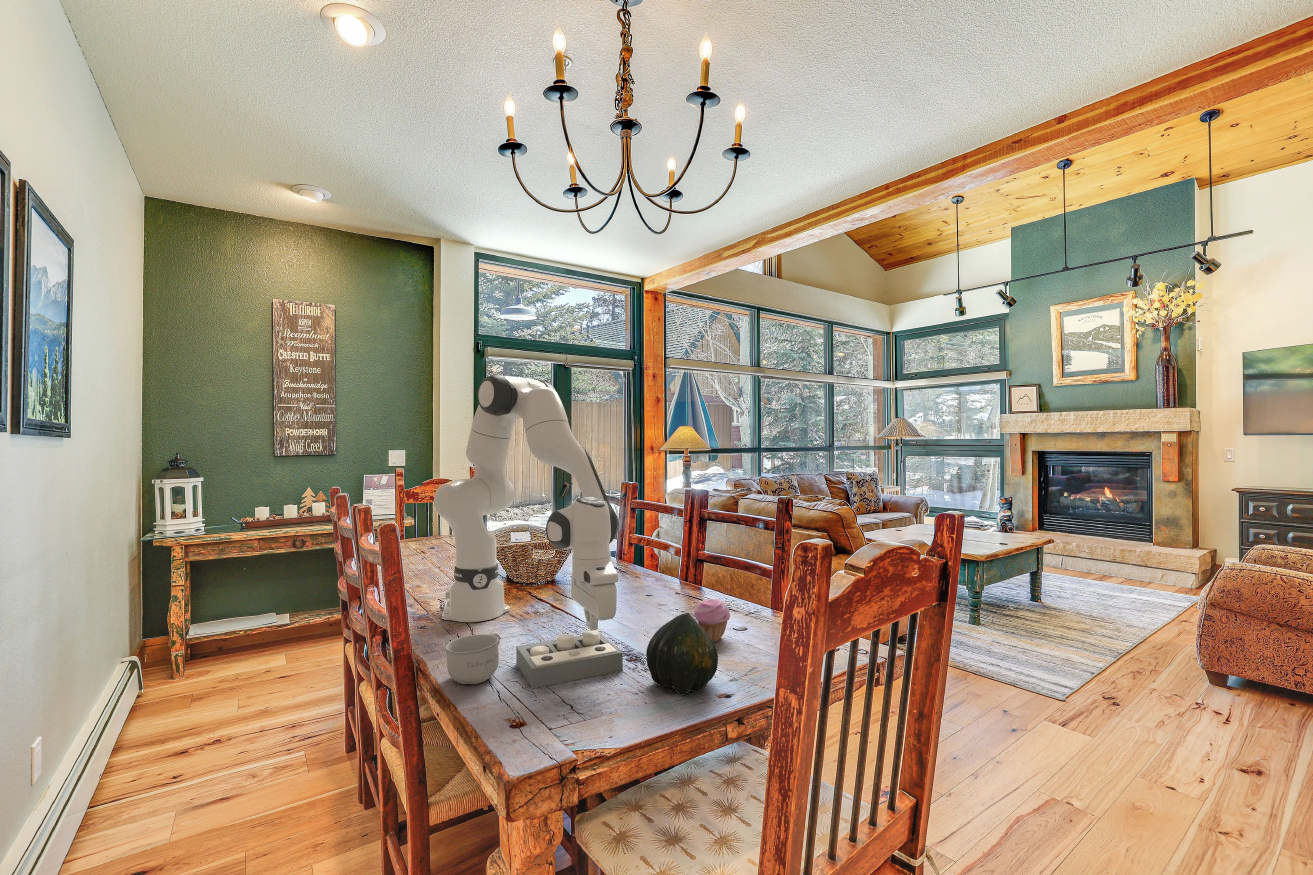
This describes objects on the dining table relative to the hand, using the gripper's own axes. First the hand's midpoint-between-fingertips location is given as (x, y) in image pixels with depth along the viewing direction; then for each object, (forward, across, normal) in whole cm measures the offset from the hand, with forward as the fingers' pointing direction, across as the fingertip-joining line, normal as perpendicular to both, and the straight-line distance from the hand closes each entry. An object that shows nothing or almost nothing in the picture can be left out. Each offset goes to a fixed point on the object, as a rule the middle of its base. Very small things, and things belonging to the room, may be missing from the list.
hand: (592, 628), depth 135 cm
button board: (+7, +2, -6) cm, 10 cm away
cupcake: (+8, +1, +32) cm, 33 cm away
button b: (+4, 0, -6) cm, 7 cm away
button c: (+4, 0, 0) cm, 4 cm away
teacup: (+7, -2, -25) cm, 26 cm away
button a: (+6, 0, -12) cm, 13 cm away
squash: (+8, +21, +12) cm, 25 cm away
